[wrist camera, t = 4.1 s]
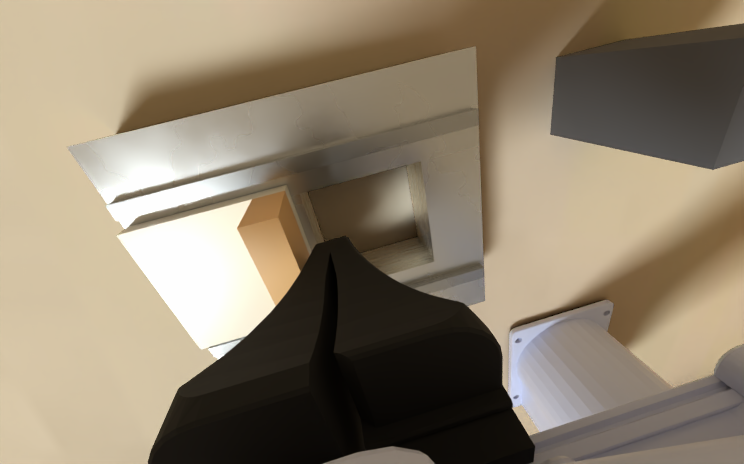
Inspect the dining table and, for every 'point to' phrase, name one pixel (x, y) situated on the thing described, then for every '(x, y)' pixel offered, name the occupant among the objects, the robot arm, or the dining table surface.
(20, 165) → the dining table surface
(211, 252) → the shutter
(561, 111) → the plug
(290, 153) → the socket
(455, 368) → the robot arm
